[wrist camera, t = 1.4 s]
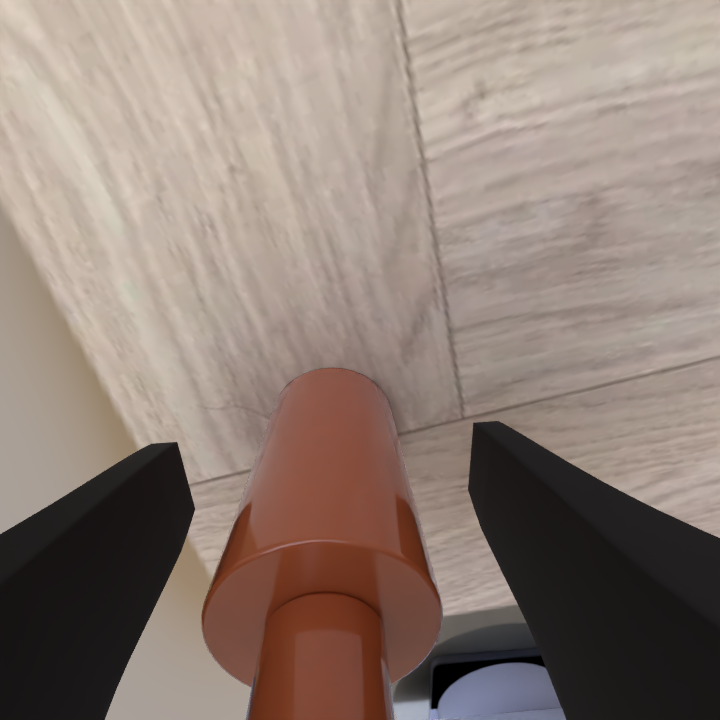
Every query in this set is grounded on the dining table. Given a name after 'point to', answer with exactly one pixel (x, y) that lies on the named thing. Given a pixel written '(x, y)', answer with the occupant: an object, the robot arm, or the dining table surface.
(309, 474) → the terracotta bottle
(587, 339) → the dining table surface
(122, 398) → the dining table surface
